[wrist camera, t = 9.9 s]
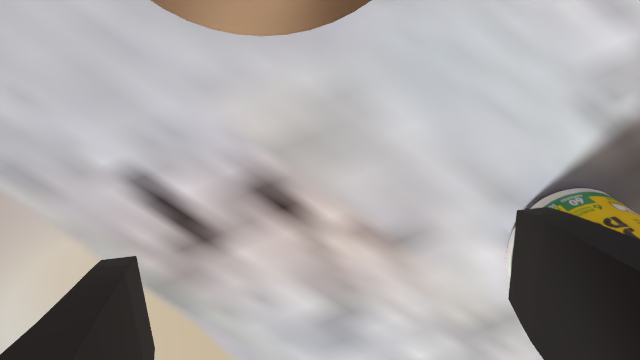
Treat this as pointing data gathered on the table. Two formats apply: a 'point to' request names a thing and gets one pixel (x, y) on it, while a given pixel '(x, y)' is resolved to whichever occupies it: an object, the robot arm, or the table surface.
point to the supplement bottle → (588, 212)
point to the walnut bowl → (261, 14)
